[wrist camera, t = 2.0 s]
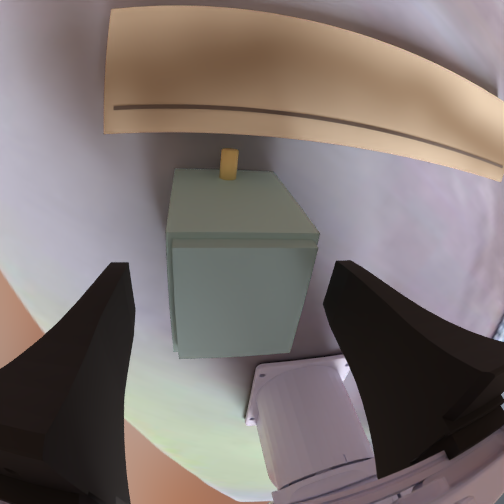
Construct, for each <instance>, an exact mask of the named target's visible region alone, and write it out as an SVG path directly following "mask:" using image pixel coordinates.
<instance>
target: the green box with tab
mask: <svg viewBox="0 0 504 504" xmlns="http://www.w3.org/2000/svg"><path fill="white" fill-rule="evenodd" d="M238 153H239V150H237V149H233V148H223V149H221V162H220V169H175V172H174V178H173V184H172V190H171V197H170V204H169V211H168V218H167V225H166V256H167V276H168V292H169V306H170V318H171V329H172V340H173V350H174V352H178V353H179V359H195V358H223V357H241V356H256V355H269V354H281V353H290V350H291V347H292V343H293V340H294V337H295V333H296V330H297V326H298V323H299V319H300V316H301V312H302V308H303V305H304V301H305V297H306V294H307V290H308V286H309V282H310V279H311V275H312V271H313V267H314V263H315V259H316V255H317V251H318V247H317V244H318V239H319V235H320V233H319V232H318V230H317V229H316V227H315V226H314V225H313V223H312V222H311V221H310V219H309V218H308V217H307V215H306V214H305V213H304V211H303V210H302V209H301V207H300V206H299V205H298V203H297V202H296V201H295V199H294V198H293V197H292V195H291V194H290V193H289V191H288V190H287V189H286V188H285V186H284V185H283V184H282V182H281V181H280V180H279V179H278V177H277V176H276V175H275V173H274V172H268V171H250V170H237V164H238Z"/></svg>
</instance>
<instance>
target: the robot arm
mask: <svg viewBox="0 0 504 504" xmlns="http://www.w3.org/2000/svg"><path fill="white" fill-rule="evenodd" d="M323 306H324V309H325V312H326V316H327V319H328V322H329V325H330V327H331V330H332V332H333V334H334V336H335V338H336V340H337V342H338V344H339V347H340V349H341V351H342V353H343V354H342V355H335V356H328V357H321V358H313V359H304V360H296V361H286V362H276V363H265V364H260V365H258V366H257V367H256V370H255V375H254V380H253V385H252V390H251V395H250V400H249V404H248V409H247V414H246V419H245V424H246V425H247V426H253V425H257V430H258V434H259V438H260V443H261V447H262V451H263V456H264V460H265V464H266V468H267V473H268V476H269V478H270V480H271V482H272V483H273V484H274V485H275V486H276V487H277V489H278V491H274V492H272V497H273V501H272V502H269V503H268V504H494V503H495V502H496V501H497V500H498V499H499V498H500V496H501V495H502V494H503V493H504V410H503V409H502V407H501V406H500V405H502V404H503V403H504V399H503V397H502V396H501V394H502V393H503V392H504V342H501V341H498V340H494V339H490V338H487V337H484V336H482V335H479V334H476V333H473V332H471V331H468V330H466V329H463V328H461V327H459V326H457V325H455V324H452V323H450V322H448V321H446V320H444V319H442V318H440V317H438V316H437V315H435V314H433V313H431V312H429V311H427V310H426V309H424V308H422V307H421V306H419V305H417V304H416V303H414V302H413V301H411V300H410V299H408V298H406V297H405V296H403V295H402V294H400V293H399V292H397V291H396V290H395V289H393V288H392V287H390V286H389V285H387V284H386V283H384V282H383V281H382V280H380V279H379V278H377V277H376V276H374V275H373V274H372V273H370V272H369V271H367V270H366V269H364V268H363V267H361V266H359V265H358V264H356V263H354V262H352V261H351V260H348V261H336V263H335V266H334V270H333V273H332V276H331V280H330V283H329V286H328V289H327V293H326V296H325V299H324V302H323ZM134 325H135V303H134V297H133V291H132V284H131V277H130V270H129V262H111V263H110V264H109V265H108V266H107V268H106V269H105V270H104V271H103V272H102V273H101V274H100V276H99V277H98V278H97V279H96V280H95V282H94V283H93V284H92V285H91V286H90V288H89V289H88V290H87V291H86V292H85V293H84V294H83V296H82V297H81V298H80V299H79V300H78V301H77V303H76V304H75V305H74V306H73V307H72V308H71V309H70V310H69V311H68V312H67V313H66V314H65V315H64V317H63V318H62V319H61V320H60V321H59V322H58V323H57V324H56V325H55V326H54V327H52V328H51V329H50V330H49V331H48V332H47V333H46V334H45V335H44V336H43V337H42V338H40V339H39V340H38V341H37V342H36V343H34V344H33V345H32V346H31V347H29V348H28V349H27V350H26V351H24V352H23V353H22V354H21V355H19V356H18V357H17V358H15V359H14V360H13V361H11V362H10V363H9V364H7V365H6V366H4V367H3V368H1V369H0V504H131V503H130V496H129V489H128V481H127V473H126V461H125V445H124V396H125V387H126V380H127V373H128V367H129V361H130V355H131V349H132V343H133V337H134ZM349 370H351V372H352V374H353V376H354V379H355V381H356V384H357V387H358V390H359V393H360V396H361V399H362V402H363V406H364V410H365V413H366V417H367V421H368V425H369V429H370V434H371V439H372V444H373V450H374V453H373V451H372V448H371V446H370V443H369V441H368V439H367V436H366V434H365V432H364V429H363V427H362V425H361V422H360V420H359V418H358V415H357V413H356V411H355V409H354V406H353V404H352V402H351V399H350V397H349V395H348V393H347V390H346V388H345V386H344V384H343V381H344V379H345V378H346V376H347V374H348V372H349Z"/></svg>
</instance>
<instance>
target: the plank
mask: <svg viewBox="0 0 504 504" xmlns="http://www.w3.org/2000/svg"><path fill="white" fill-rule="evenodd" d="M145 132H193V133H223V134H241V135H255V136H268V137H279V138H289V139H298V140H307V141H315V142H323V143H330V144H337V145H343V146H350V147H356V148H362V149H368V150H373V151H379V152H384V153H389V154H394V155H399V156H404V157H409V158H413V159H418V160H422V161H426V162H431V163H435V164H439V165H443V166H447V167H451V168H454V169H458V170H462V171H465V172H469V173H472V174H476V175H479V176H483V177H486V178H489V179H492V180H496V181H499V182H501V181H502V177H503V174H504V101H502V100H500V99H499V98H497V97H496V96H494V95H493V94H491V93H489V92H488V91H486V90H484V89H483V88H481V87H479V86H478V85H476V84H474V83H472V82H471V81H469V80H467V79H465V78H463V77H461V76H460V75H458V74H456V73H454V72H452V71H450V70H448V69H446V68H444V67H442V66H440V65H438V64H436V63H433V62H431V61H429V60H427V59H425V58H423V57H420V56H418V55H416V54H413V53H411V52H408V51H406V50H404V49H401V48H399V47H396V46H393V45H391V44H388V43H385V42H383V41H380V40H377V39H374V38H371V37H368V36H365V35H362V34H359V33H356V32H352V31H349V30H345V29H342V28H338V27H335V26H331V25H327V24H323V23H319V22H315V21H310V20H306V19H301V18H296V17H291V16H286V15H280V14H274V13H268V12H261V11H254V10H246V9H237V8H226V7H211V6H179V5H174V6H142V7H128V8H118V9H111V14H110V22H109V30H108V40H107V51H106V64H105V83H104V134H117V133H145Z"/></svg>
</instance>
